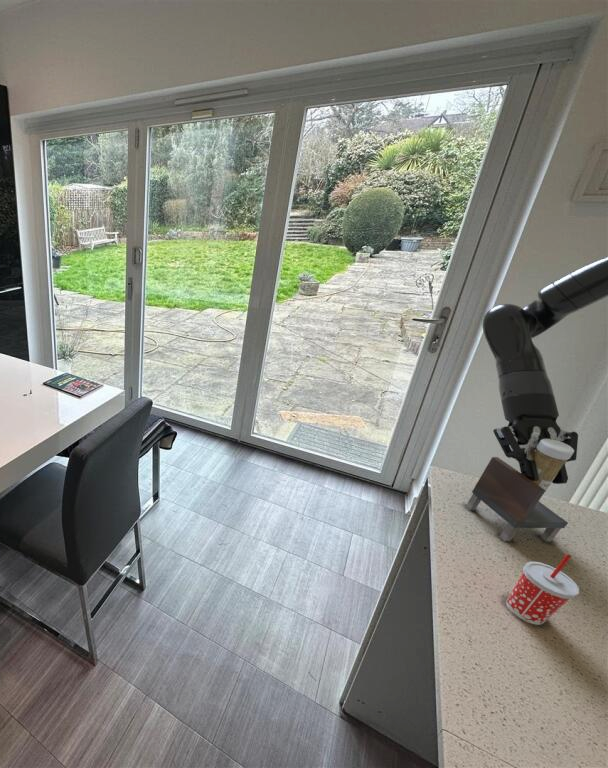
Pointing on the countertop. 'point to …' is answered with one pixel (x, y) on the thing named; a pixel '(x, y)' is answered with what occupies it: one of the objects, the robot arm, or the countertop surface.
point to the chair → (514, 500)
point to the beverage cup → (541, 592)
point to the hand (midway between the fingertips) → (545, 481)
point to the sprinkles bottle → (550, 460)
